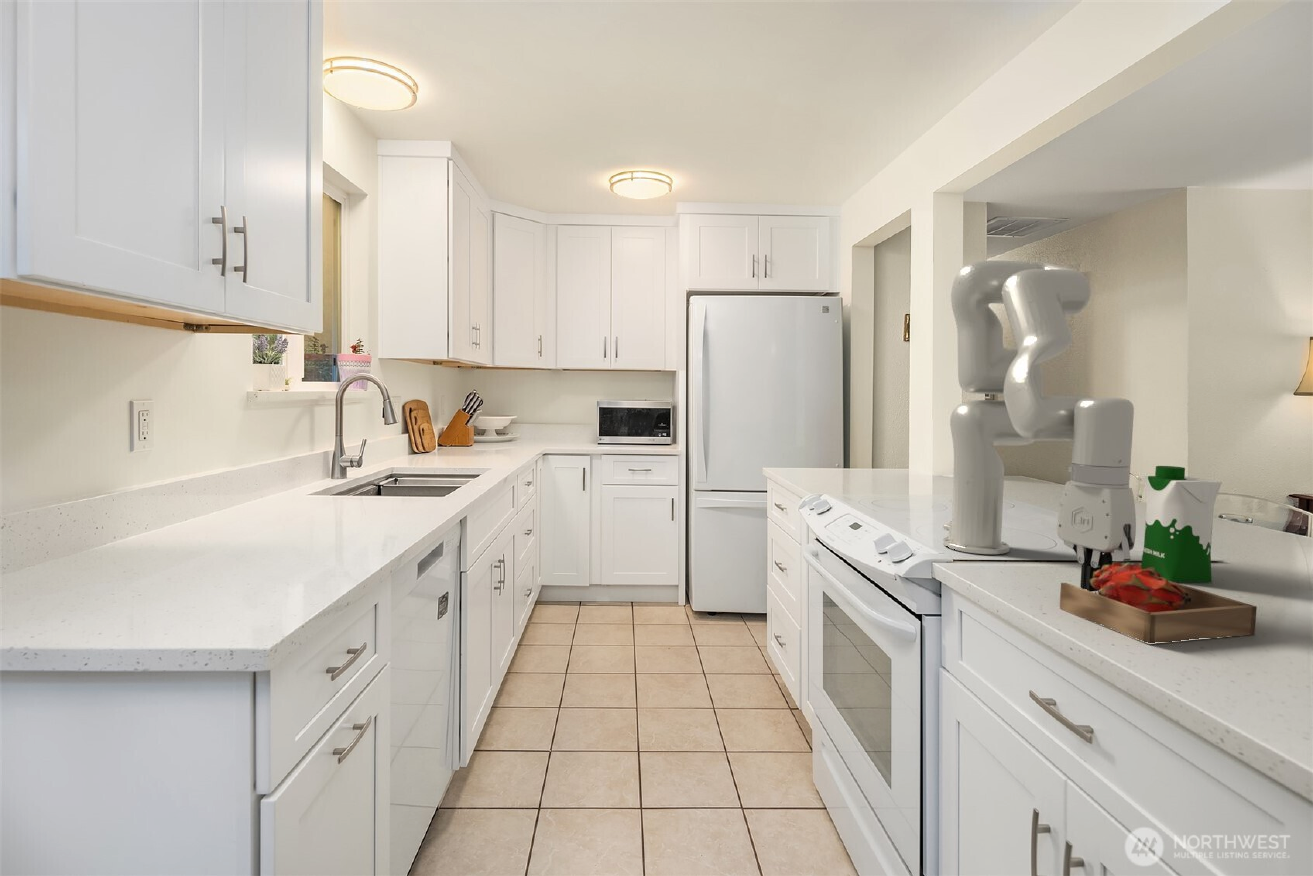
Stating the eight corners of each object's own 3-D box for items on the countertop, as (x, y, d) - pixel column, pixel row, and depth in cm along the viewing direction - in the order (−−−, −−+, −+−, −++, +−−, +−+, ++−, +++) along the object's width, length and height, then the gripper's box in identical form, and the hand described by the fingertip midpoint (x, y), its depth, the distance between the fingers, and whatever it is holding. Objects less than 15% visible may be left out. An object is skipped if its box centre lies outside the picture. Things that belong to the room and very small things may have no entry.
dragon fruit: (1080, 613, 95) (1178, 643, 88) (1087, 595, 88) (1194, 625, 82) (1090, 565, 98) (1186, 589, 91) (1098, 544, 91) (1202, 568, 84)
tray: (1059, 608, 92) (1061, 583, 92) (1153, 601, 96) (1155, 576, 96) (1149, 645, 79) (1151, 615, 79) (1254, 635, 82) (1256, 606, 82)
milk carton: (1131, 569, 114) (1137, 464, 112) (1180, 570, 113) (1187, 464, 112) (1169, 584, 105) (1177, 470, 103) (1222, 584, 105) (1231, 470, 103)
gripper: (1040, 470, 102) (1035, 577, 103) (1125, 483, 87) (1117, 607, 89) (1078, 469, 103) (1072, 574, 105) (1167, 482, 89) (1159, 604, 90)
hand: (1092, 589), depth 97 cm, fingers closed
